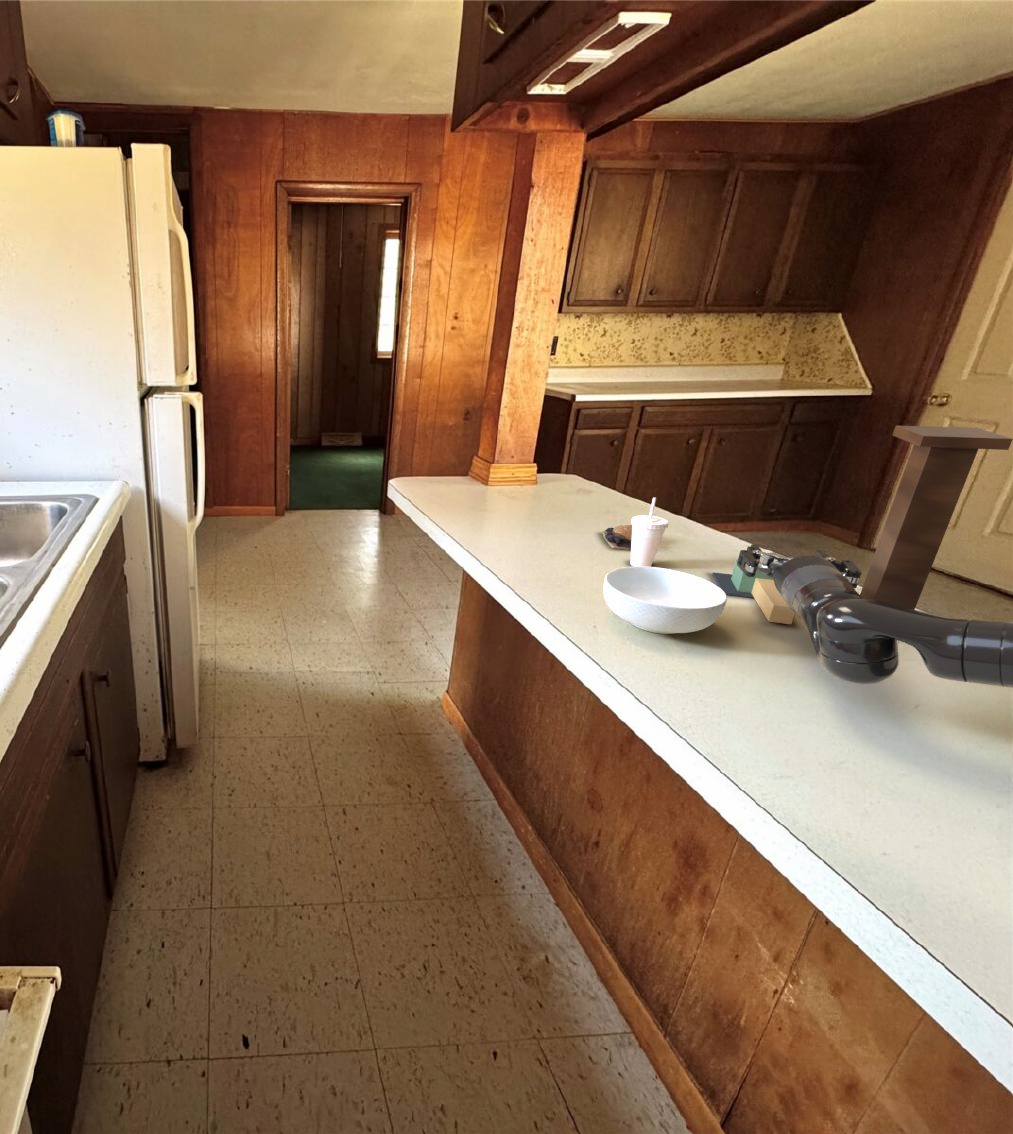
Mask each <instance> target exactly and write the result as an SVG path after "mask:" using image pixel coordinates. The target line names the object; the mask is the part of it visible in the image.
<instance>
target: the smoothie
mask: <svg viewBox="0 0 1013 1134" xmlns="http://www.w3.org/2000/svg"><path fill="white" fill-rule="evenodd" d="M656 502H657V497H653V498H652V500H651V506H650V510H649V514H638V515H634V516H632V517H631V521H630V525H632V541H631V549H630V561H629V562H630V563H629V564H630V565H631V566H648V567H653V566H652V565H653V563H654V560H655V557H656V555H657V552H658V550H659V547H660V544H661V542H662V539H663V537H664V534H665V531H666V529H667V528H669V523H670V522H669V520H668V519H666V518H663V517H660V516H655V515H654V511H655V507H656Z"/></svg>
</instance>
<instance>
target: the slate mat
mask: <svg viewBox="0 0 1013 1134" xmlns="http://www.w3.org/2000/svg"><path fill="white" fill-rule="evenodd" d="M711 576H712V577H713V579H714V581H715V584H716V586H718V587H719V588H721V589H722V590H723V591H724V592H725V594H726V596H732V597H738V598H739V597H740V598H747V599H755V598H754V597H753V595H752V593H747V592H738V591H737V589H736V587H735V586H734V584H733V582H732V580H731V577H732V574H731V573H722V572H712V575H711Z"/></svg>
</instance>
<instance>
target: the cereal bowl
mask: <svg viewBox="0 0 1013 1134" xmlns="http://www.w3.org/2000/svg"><path fill="white" fill-rule="evenodd" d="M602 587H603V588H602V589H603V590H602V592H603V599H604V601H605V603H606V606H608V608H609V609H610V610H611V611H612V613H614V615H616V616H618V617H619V618H620V619H622V620H623V621H626V622H628V623H630V624H631V625H632V626H633V627H636V628H638V629H640V630H642V631H646V632H649V633H653V634H658V635H659V634H660V635H674V634H687V633H688V634H689V633H694V632H698V631H702V630H704V629H706V628H709V627H711V626H712V625H713V624H714V623H715V622H717V620H718V619H719V618H720V616H721V615H722V614H723V612H724V610H725V606H726V605H727V604H726V603H727V600H728V595H726V594H725V592H724V591H723V590H722V589H721V588H719V587H718V585H717V584H716V583H713V582H711V581H709V580H707V579H705V578H703V577H699V576H696V575H694V574H691V573H688V572H684V571H680V570H675V569H672V568H665V567H664V568H663V567H658V566H651V567H648V566H632V565H631V566H623V567H618V568H614V569H612V570H610V571H609V572H607V573H606V574H605V576H604V579H603V586H602Z"/></svg>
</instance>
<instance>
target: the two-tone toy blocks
mask: <svg viewBox="0 0 1013 1134" xmlns="http://www.w3.org/2000/svg"><path fill="white" fill-rule="evenodd" d="M737 561H738V559H735V563H734V566H733V570H732V577H731V580H732V582H733V584H734V586H735V587H736V589H737V591H738V592H747V593H752V595H753V597H754V598H753V599H754V600H755V602H756V603H757V605H758V606H759V608H760V610H761V611H762V613H763V614H764V616H765V618H766V619H767V621H768V622H769V623H771V622H772V623H777V624H783V625H784V624H785V625H792V623H793V621H794V617H795V616H796V613H794V612H793V611H792V610H791V609H790V607H789V606H788V605H787V603H786V602H785V600H784V599H783V597H782V596H781V595H780V593H779V592H778V590H777V589H776V587H775V584H774V580H773V579H772V578H770V577H768V576H767V575H766V574H764V573H756V574H755V577H748V576H746V575H745V574H744V573H743V572H742V570H741V569H740V568H739V567H738V565H737ZM759 563H761V564H762V563H763V561H760V562H759Z"/></svg>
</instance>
